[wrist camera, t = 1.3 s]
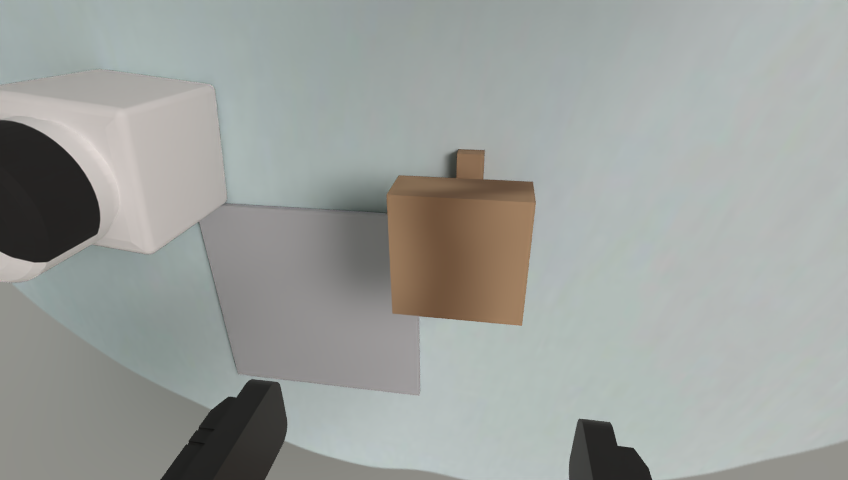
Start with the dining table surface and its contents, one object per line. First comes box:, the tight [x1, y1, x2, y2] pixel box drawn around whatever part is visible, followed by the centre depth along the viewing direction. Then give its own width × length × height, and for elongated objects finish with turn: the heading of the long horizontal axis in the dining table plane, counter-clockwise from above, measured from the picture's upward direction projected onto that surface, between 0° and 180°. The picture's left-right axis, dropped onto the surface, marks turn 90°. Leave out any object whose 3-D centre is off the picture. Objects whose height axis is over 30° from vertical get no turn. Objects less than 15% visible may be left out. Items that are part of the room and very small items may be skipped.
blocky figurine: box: [0, 69, 227, 283], centre depth 22 cm, size 7×7×12 cm
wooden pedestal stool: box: [387, 149, 536, 326], centre depth 23 cm, size 6×6×7 cm
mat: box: [199, 203, 420, 396], centre depth 31 cm, size 14×14×1 cm
